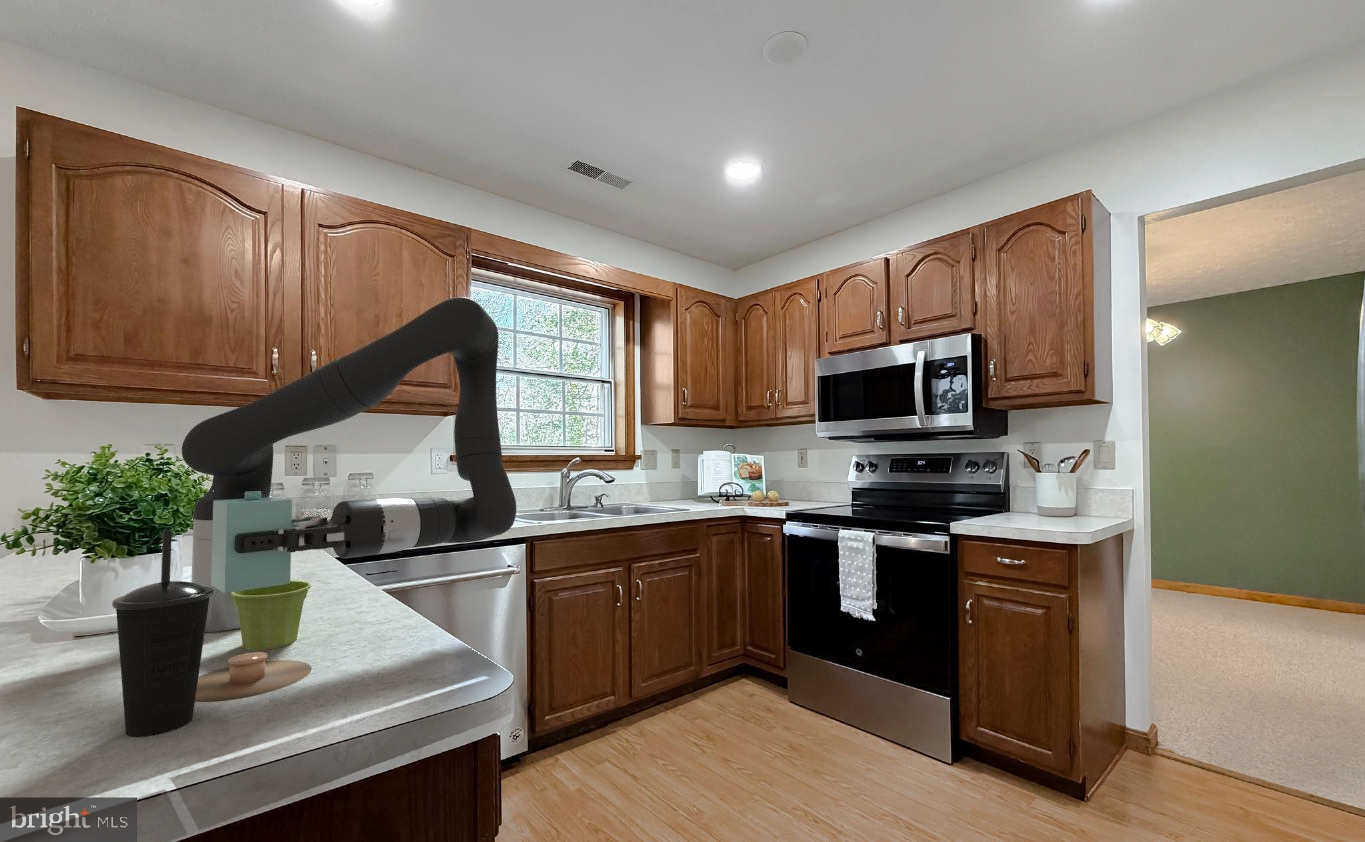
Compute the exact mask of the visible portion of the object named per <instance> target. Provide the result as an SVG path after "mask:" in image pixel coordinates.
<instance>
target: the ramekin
mask: <svg viewBox="0 0 1365 842" xmlns="http://www.w3.org/2000/svg"><path fill="white" fill-rule="evenodd" d="M267 658H268V653H267V652H264V651H263V652H262V651H254V652H246V653H243V654H238V655H234V656H232V657H230V658H228V660H227V665H229V667H230V678H229V683H230V684H247V683H251V682H255V681H258V680H260V679H262V678H264V677H265V661H266V659H267Z"/></svg>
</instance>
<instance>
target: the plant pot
mask: <svg viewBox="0 0 1365 842" xmlns="http://www.w3.org/2000/svg"><path fill="white" fill-rule="evenodd" d="M311 587H312V583H311V582H309V581H303V580H290V584H283V585H277V586H270V587H263V588H257V589H250V590H243V591H237V592H231V595H232V596H233V597H235V603H236V606H237V607H238V612H239V620H240V627H241V628H240V636H241V642H242V648H243V649H244V650H247V651H264V650H272V649H277V648H281V647H285V646H288V645H291V644H293V643H295V642H297V640H298V637H299V636H298V633H299V628H300V624H301V617H302V613H303V607H304V602H305V600H306V598H307V595H308V591H309V589H311Z"/></svg>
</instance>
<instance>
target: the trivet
mask: <svg viewBox="0 0 1365 842" xmlns="http://www.w3.org/2000/svg"><path fill="white" fill-rule="evenodd" d="M311 673H312V666H311V665H310V664H309V663H307V662H305V661H300V660H293V659H292V660H290V659H278V660H277V659H274V660H265V677H264V678H262V679H260V680H258V681H255V682H251V683H247V684H230V683H229V678H230V666H228V667H224V668H223V667H222V668H221V669H217V670H213V671H209V672H207V673H204V674H201V675H199V676H198V683H197V690H196V697H195V703H215V702H226V701H234V700H239V699H240V700H241V699H245V698H252V697H256V696H259V695H264V694H268V693H270V692H271V693H272V692H275V691H278V690H280V689H284V688H286V687H289V686H292V685H294V684H296V683H298V682H300V681H301V680H303V679H305V678H306V677H308V676H309V675H310V674H311Z"/></svg>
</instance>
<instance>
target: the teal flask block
mask: <svg viewBox="0 0 1365 842" xmlns="http://www.w3.org/2000/svg"><path fill="white" fill-rule="evenodd" d="M292 513H293V499H289V498H285V497H284V498H283V497H276V496H272V497H270V496H269V497H268V498H261V491H249V492H245V499H232V500H214V501H213V534H212V570H211V585H212V586H213V587H215V588H217V589H218V590H220V591H222V592H223V593H230V592H237V591H243V590H250V589H257V588H263V587H270V586H277V585H283V584H290V581H291V567H292V563H291V562H292V553H291V552H287V550H284V551H282V552H279V551H276V547H274V550H268V551H259V552H250V553H237V552H236V551H235V536H236V535H237V534H240V533H250V532H261V531H272V530H274V531H275V534H276V530H277V529H280V528H291V524H292V519H293V518H292V515H293V514H292Z"/></svg>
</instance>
